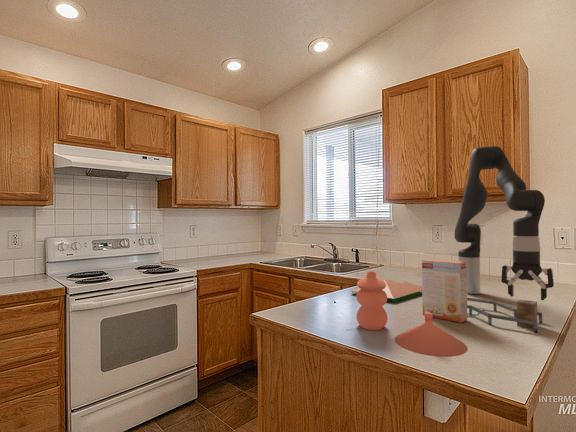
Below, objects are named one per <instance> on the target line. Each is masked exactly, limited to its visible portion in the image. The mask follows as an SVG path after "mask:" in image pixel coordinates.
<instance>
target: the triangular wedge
mask: <svg viewBox="0 0 576 432" xmlns="http://www.w3.org/2000/svg"><path fill="white" fill-rule="evenodd" d="M383 281H384V282H385V283H386V287H385V289H383V291H385V293H386V294H387V299H389V300H393V303H397V302H401V301H404V300H406V297H407V296H409V298H412V297H417V296H421V292H422V285H418V284H416V283H411V282H408V281H403V282H399V281H396V280H392V279H388V278H387V279H384V280H383ZM359 290H361V289H360V288H359V287H358V288H354V289H350V290H349V292H351V293H352V296H354V295H355V296H356V295H357V292H358V291H359Z"/></svg>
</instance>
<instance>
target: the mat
mask: <svg viewBox="0 0 576 432" xmlns="http://www.w3.org/2000/svg"><path fill="white" fill-rule="evenodd" d="M477 308H478V309H480V310H483V311H485V310H484V308H482V307H477ZM479 314H480V313H478V312H476V311H474V310H472V316H478V315H479ZM467 315H469V308H467Z"/></svg>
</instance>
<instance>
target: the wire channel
mask: <svg viewBox="0 0 576 432" xmlns="http://www.w3.org/2000/svg"><path fill="white" fill-rule="evenodd" d="M467 302H474V303H475V302H476V303H483V304H489V305H493V311H494V312H497V309H498V308H497V306H498V307H500V308H503V309H505V310H508V311H509V312H510V311H511V312H513V317H512V316H506V315H501V314H499V315H498V314H493V313H490V312H487V311H485V310H480V309H478V308H479V307H476V306H473V305H470V304H469V305H468V304H467V308H469V314H468V316H473V315H472V310H474V311H476V312H478V313H479V314H481V315H482V316H485V317H487V320H488V321H487V324H488V326H489V325H490V326H492V323H493V322H492V319H497V320H502V321H503V320H504V321H510V322H516V323H517V322H520V323H527V324H533V325H534V329H533V333H534V334H538V324H543V322H544V321H543V320H544V319H543V316H544V315H543V312H541V311H537V317H538V320H537V321H532V320H526V319H520V318H517V308H515V307H512V306H509V305H507V304H504V303H501V302H498V301H495V300H489V299H481V298H474V297H467Z"/></svg>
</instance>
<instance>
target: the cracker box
mask: <svg viewBox="0 0 576 432" xmlns="http://www.w3.org/2000/svg"><path fill="white" fill-rule="evenodd" d="M421 277H422V282H421V284H422V285H421V286H422V291H421V295H422V315H423V316H425V313H426V312H429V313H432V315H433V318H435V319H441V320H444V321H450V322H453V323H454V322H455V323H459V324H460V323H463V322H465V321H467V320H468V314H467V305H468V301H467V298H468V293H467V275H466V262H462V261H459V260H448V259H438V258H437V259H435V258H425V259H422V260H421Z"/></svg>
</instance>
